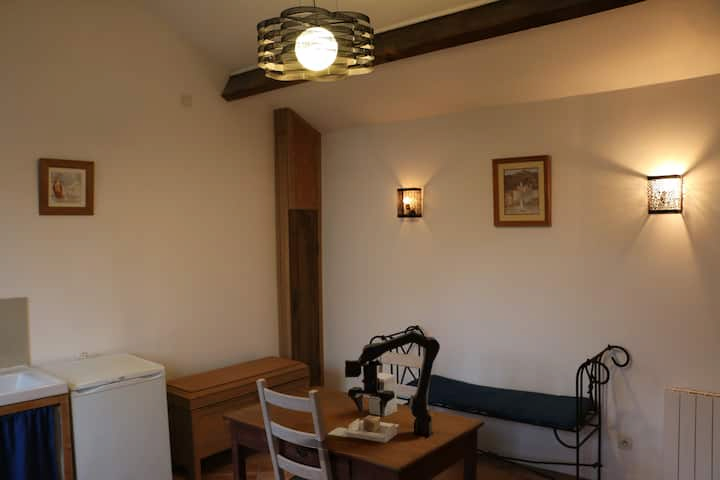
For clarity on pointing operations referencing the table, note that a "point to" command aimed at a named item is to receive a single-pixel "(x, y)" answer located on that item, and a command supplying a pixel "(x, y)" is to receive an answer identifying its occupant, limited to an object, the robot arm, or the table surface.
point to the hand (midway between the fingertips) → (371, 414)
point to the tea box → (371, 424)
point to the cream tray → (385, 432)
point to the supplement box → (389, 385)
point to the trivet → (339, 432)
